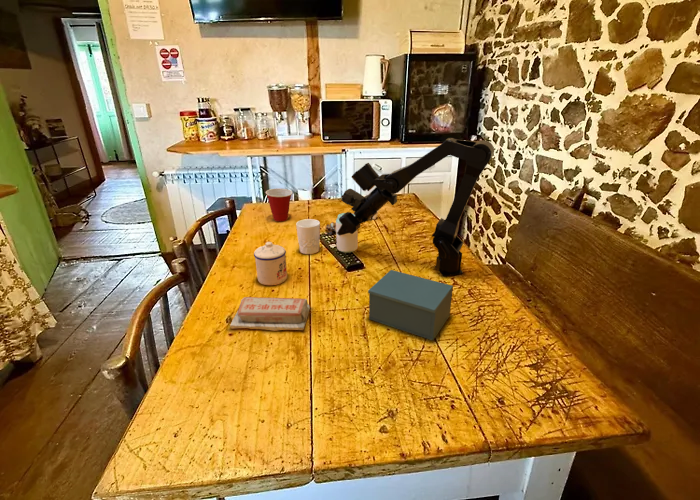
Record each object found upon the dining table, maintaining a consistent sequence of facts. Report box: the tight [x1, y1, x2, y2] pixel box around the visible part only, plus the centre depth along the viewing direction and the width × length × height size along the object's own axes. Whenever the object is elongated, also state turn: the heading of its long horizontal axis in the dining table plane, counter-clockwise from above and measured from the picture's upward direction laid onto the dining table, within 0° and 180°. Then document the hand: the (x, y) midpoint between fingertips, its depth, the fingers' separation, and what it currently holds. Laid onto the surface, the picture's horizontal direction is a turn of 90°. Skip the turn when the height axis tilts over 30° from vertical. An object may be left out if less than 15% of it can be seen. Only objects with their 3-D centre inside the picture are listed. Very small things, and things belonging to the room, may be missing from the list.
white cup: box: [295, 218, 321, 255], centre depth 134 cm, size 8×8×10 cm
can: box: [335, 212, 359, 253], centre depth 131 cm, size 7×7×12 cm
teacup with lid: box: [253, 241, 288, 286], centre depth 116 cm, size 12×9×12 cm
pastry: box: [324, 221, 336, 236], centre depth 150 cm, size 7×12×4 cm, turn 89°
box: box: [368, 288, 454, 341], centre depth 97 cm, size 12×17×8 cm
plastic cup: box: [265, 188, 293, 222], centre depth 162 cm, size 11×11×12 cm
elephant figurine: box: [369, 210, 379, 221], centre depth 162 cm, size 7×8×6 cm
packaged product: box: [229, 296, 311, 332], centre depth 97 cm, size 18×5×10 cm
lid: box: [367, 269, 454, 313], centre depth 94 cm, size 12×17×1 cm
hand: (343, 230), depth 131 cm, fingers closed on can, 7 cm apart
